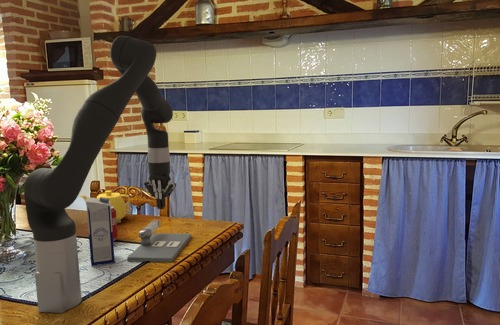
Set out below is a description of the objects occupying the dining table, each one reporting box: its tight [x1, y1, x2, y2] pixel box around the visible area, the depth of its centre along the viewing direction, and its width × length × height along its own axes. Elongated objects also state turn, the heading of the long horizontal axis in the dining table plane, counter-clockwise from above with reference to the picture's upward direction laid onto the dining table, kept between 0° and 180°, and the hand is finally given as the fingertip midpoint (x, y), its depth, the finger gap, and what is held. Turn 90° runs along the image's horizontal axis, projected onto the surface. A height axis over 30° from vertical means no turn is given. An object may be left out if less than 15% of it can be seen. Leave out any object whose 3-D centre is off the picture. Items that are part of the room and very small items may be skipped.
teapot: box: [78, 189, 132, 224], centre depth 173 cm, size 14×20×13 cm
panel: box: [126, 232, 193, 263], centre depth 139 cm, size 24×14×4 cm, turn 173°
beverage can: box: [111, 206, 119, 242], centre depth 148 cm, size 6×6×12 cm
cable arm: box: [138, 219, 162, 239], centre depth 145 cm, size 4×15×2 cm, turn 175°
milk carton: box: [85, 196, 116, 267], centre depth 128 cm, size 7×7×20 cm
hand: (161, 208), depth 148 cm, fingers closed
